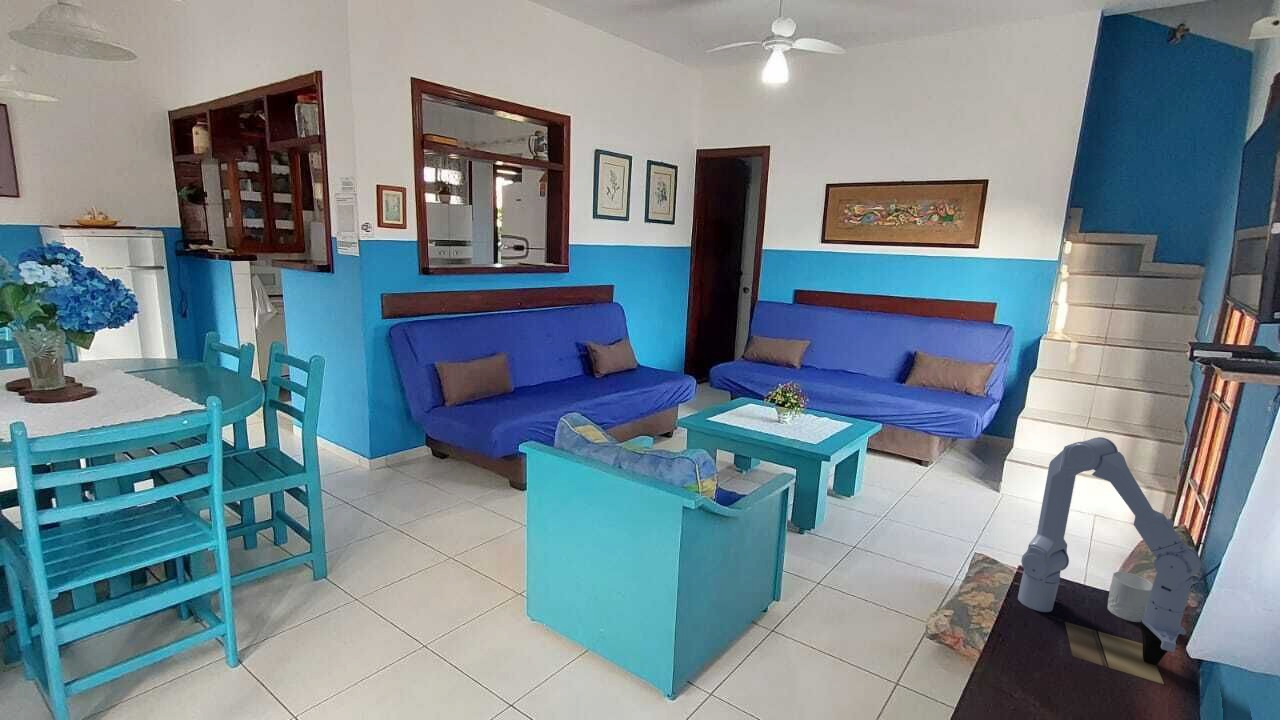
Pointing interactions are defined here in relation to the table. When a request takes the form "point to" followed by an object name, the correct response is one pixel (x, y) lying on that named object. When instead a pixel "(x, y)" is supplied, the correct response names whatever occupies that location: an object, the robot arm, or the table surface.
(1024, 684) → the table surface
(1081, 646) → the walnut board
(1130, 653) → the oak plank
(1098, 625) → the table surface
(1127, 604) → the white cup
